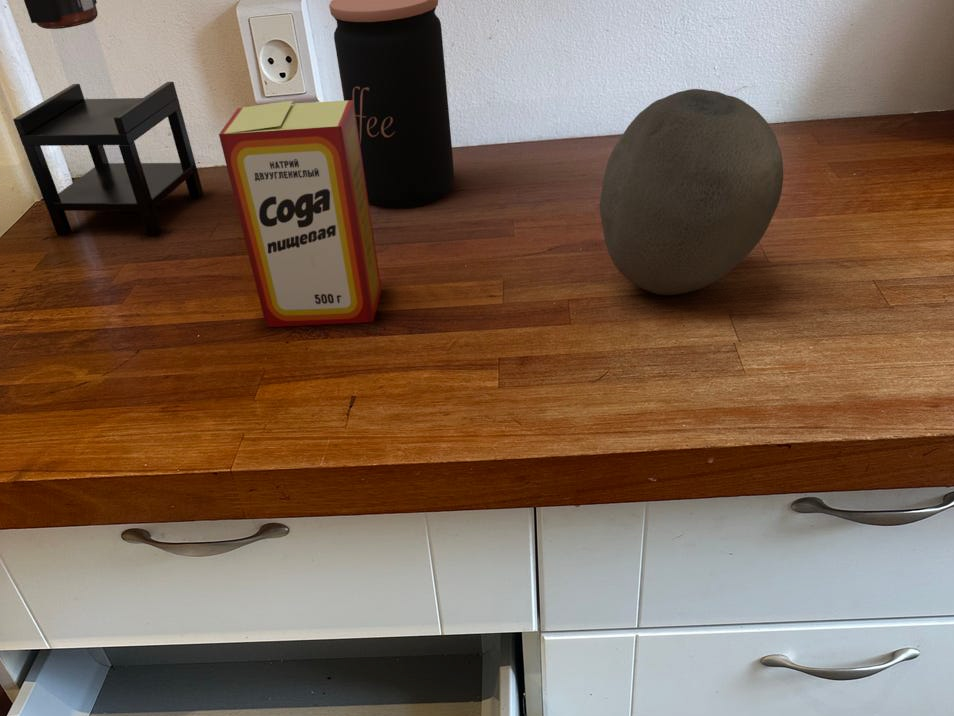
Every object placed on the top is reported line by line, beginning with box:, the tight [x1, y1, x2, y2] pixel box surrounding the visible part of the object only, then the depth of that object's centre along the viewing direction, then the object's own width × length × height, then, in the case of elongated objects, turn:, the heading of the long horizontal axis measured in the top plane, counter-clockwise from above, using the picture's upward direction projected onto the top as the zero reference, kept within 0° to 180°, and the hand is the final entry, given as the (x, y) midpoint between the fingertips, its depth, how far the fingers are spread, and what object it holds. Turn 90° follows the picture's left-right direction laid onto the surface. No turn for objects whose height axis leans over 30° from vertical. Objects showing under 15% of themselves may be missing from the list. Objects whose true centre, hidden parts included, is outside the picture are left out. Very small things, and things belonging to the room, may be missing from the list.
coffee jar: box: [328, 0, 455, 208], centre depth 98 cm, size 11×11×18 cm
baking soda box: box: [218, 99, 383, 328], centre depth 79 cm, size 10×6×16 cm
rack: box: [12, 81, 205, 237], centre depth 101 cm, size 12×12×12 cm
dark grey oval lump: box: [599, 88, 784, 296], centre depth 78 cm, size 14×14×15 cm
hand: (65, 12), depth 90 cm, fingers closed on supplement bottle, 6 cm apart
